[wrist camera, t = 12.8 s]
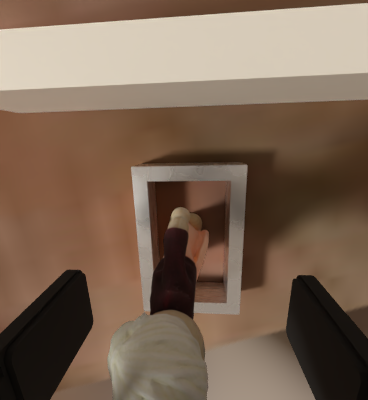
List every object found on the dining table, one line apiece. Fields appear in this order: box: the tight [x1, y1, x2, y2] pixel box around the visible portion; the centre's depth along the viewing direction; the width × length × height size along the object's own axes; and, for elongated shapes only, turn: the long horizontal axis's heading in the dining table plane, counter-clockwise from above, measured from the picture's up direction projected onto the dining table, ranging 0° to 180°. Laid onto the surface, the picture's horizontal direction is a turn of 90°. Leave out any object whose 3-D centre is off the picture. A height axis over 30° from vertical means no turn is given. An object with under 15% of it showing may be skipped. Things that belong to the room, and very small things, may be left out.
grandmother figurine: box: [108, 207, 209, 400], centre depth 11 cm, size 8×4×13 cm, turn 5°
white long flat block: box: [0, 3, 368, 113], centre depth 12 cm, size 26×2×6 cm, turn 91°
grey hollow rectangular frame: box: [131, 162, 247, 314], centre depth 16 cm, size 8×12×2 cm, turn 1°
